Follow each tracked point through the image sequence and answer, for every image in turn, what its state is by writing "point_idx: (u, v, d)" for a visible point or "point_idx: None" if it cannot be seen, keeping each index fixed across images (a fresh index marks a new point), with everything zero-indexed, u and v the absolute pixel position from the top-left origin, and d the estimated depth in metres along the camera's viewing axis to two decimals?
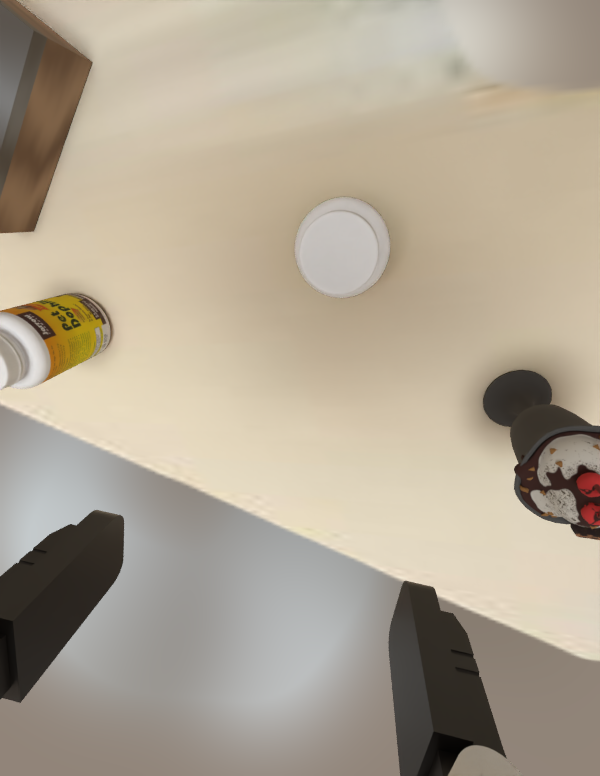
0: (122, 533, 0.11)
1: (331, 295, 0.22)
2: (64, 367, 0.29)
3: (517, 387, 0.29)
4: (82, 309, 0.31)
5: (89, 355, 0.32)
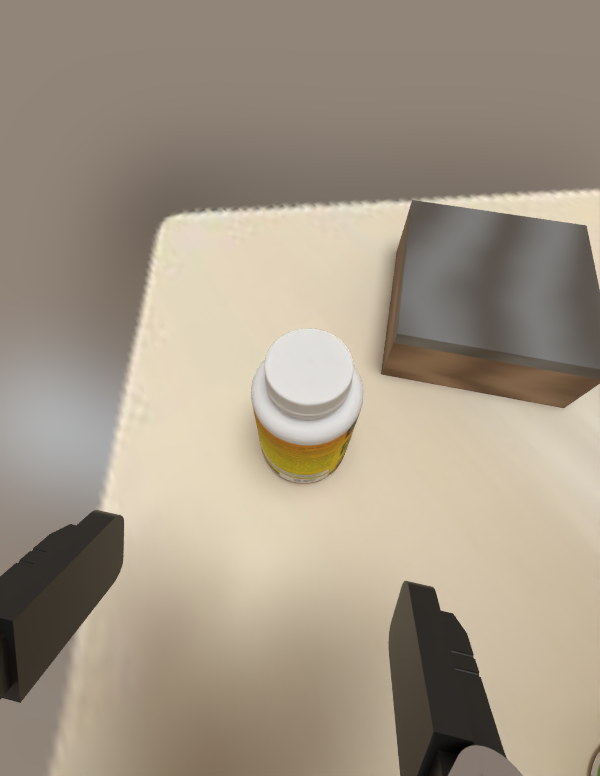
0: (122, 533, 0.11)
1: None
2: (291, 454, 0.20)
3: None
4: (346, 447, 0.23)
5: (290, 471, 0.22)
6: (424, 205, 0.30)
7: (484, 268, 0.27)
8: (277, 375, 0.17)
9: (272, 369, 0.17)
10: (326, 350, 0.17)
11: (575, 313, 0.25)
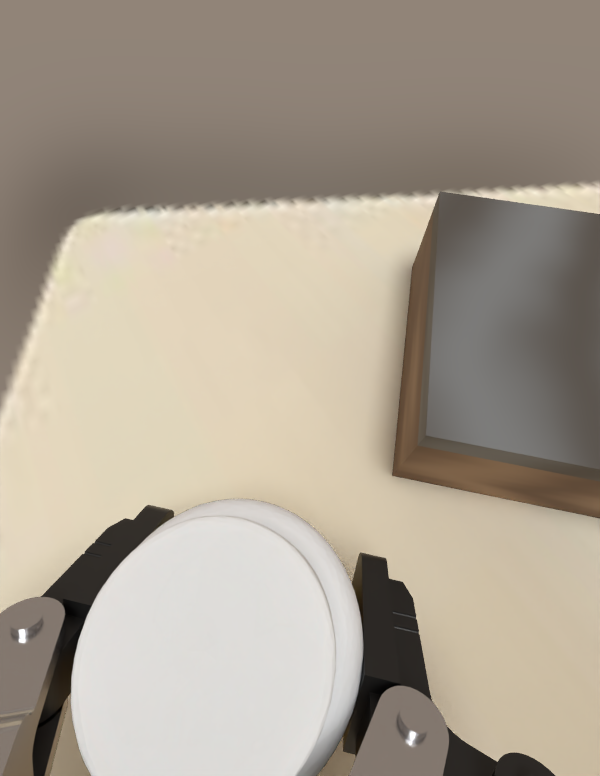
0: None
1: None
2: None
3: None
4: None
5: None
6: (459, 199, 0.19)
7: (569, 306, 0.16)
8: (102, 703, 0.05)
9: (92, 676, 0.06)
10: (259, 599, 0.06)
11: None
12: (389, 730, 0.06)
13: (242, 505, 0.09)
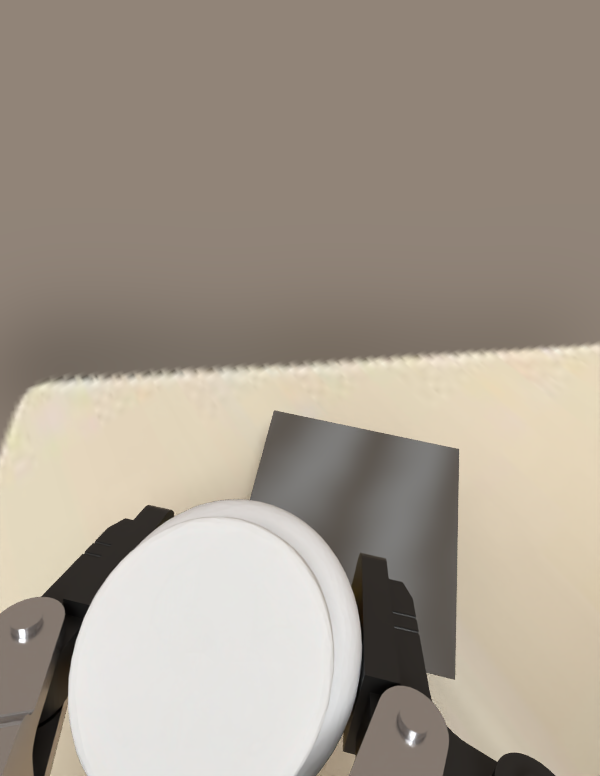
0: None
1: None
2: None
3: None
4: None
5: None
6: (285, 418, 0.27)
7: (334, 515, 0.24)
8: (99, 705, 0.05)
9: (89, 678, 0.06)
10: (256, 600, 0.06)
11: (424, 585, 0.22)
12: (389, 730, 0.06)
13: (240, 506, 0.09)
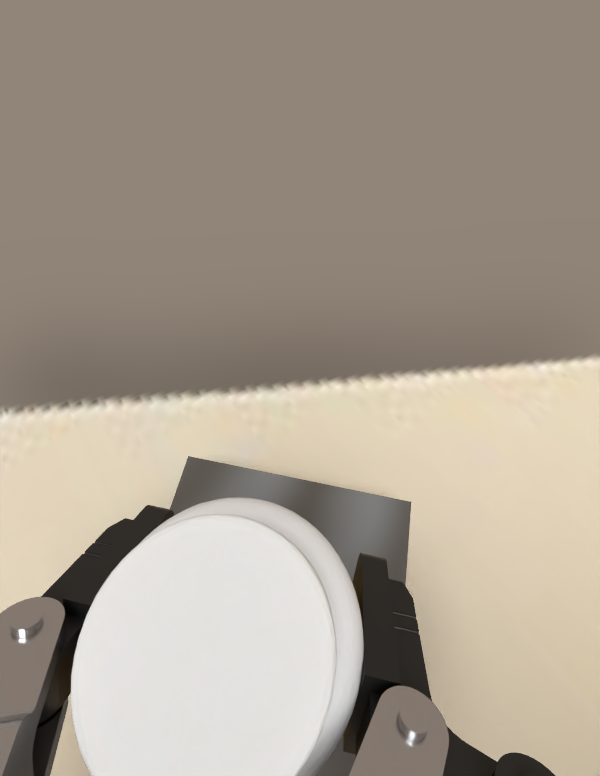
0: None
1: None
2: None
3: None
4: None
5: None
6: (201, 466, 0.22)
7: None
8: (102, 702, 0.05)
9: (91, 675, 0.06)
10: (259, 598, 0.06)
11: None
12: (389, 730, 0.06)
13: (242, 504, 0.09)
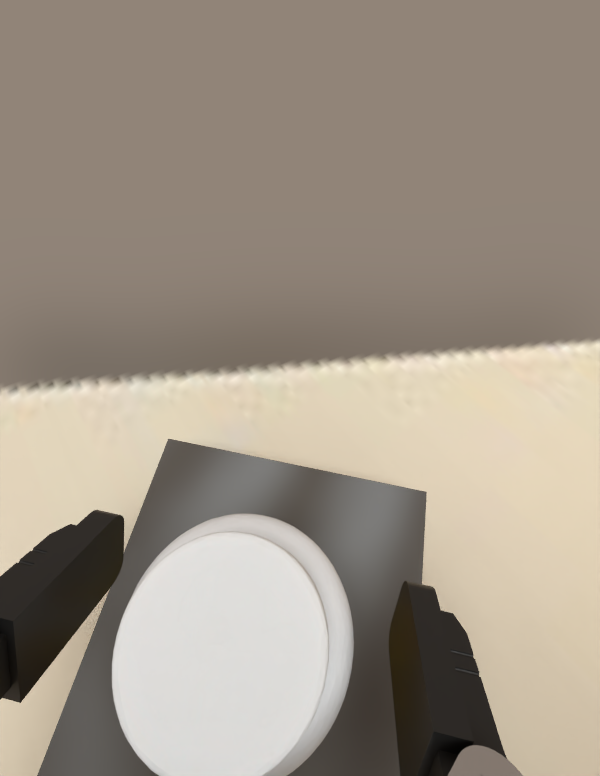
0: (122, 533, 0.11)
1: None
2: None
3: None
4: None
5: None
6: (183, 450, 0.19)
7: None
8: (138, 687, 0.07)
9: (129, 666, 0.07)
10: (265, 603, 0.07)
11: (364, 714, 0.15)
12: None
13: (249, 520, 0.10)
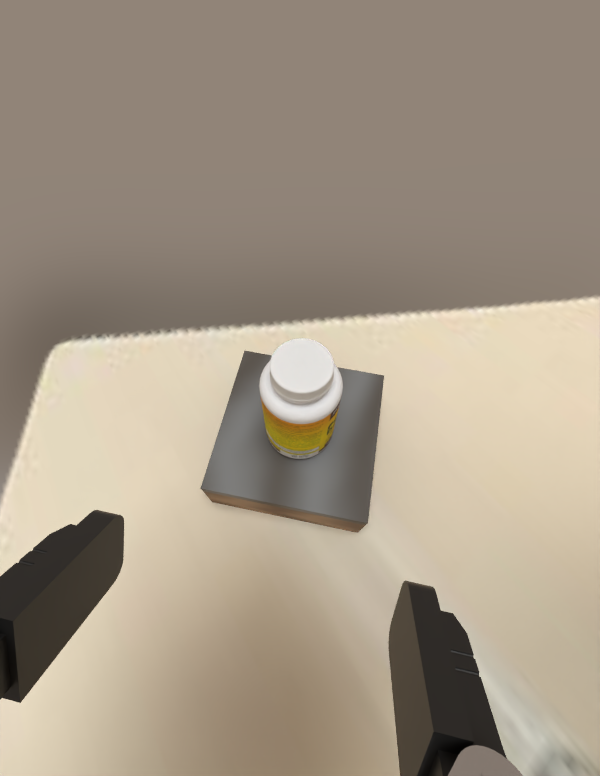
0: (122, 533, 0.11)
1: None
2: (289, 432, 0.26)
3: None
4: None
5: (289, 447, 0.29)
6: (253, 356, 0.36)
7: None
8: (279, 372, 0.23)
9: (275, 368, 0.23)
10: (314, 354, 0.24)
11: (350, 465, 0.31)
12: None
13: None
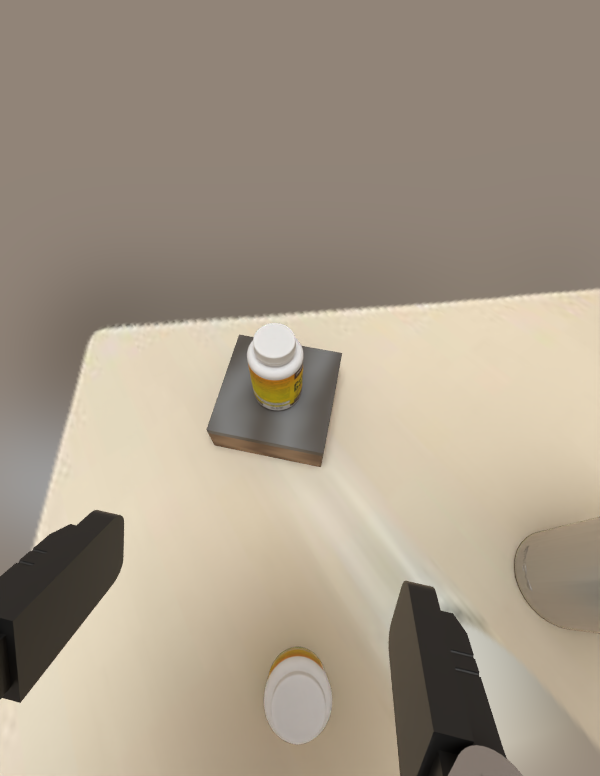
0: (122, 533, 0.11)
1: (266, 710, 0.29)
2: (267, 387, 0.38)
3: None
4: (300, 389, 0.42)
5: (268, 400, 0.41)
6: (245, 338, 0.48)
7: None
8: (259, 344, 0.35)
9: (256, 342, 0.35)
10: (282, 333, 0.36)
11: (313, 415, 0.43)
12: None
13: None
